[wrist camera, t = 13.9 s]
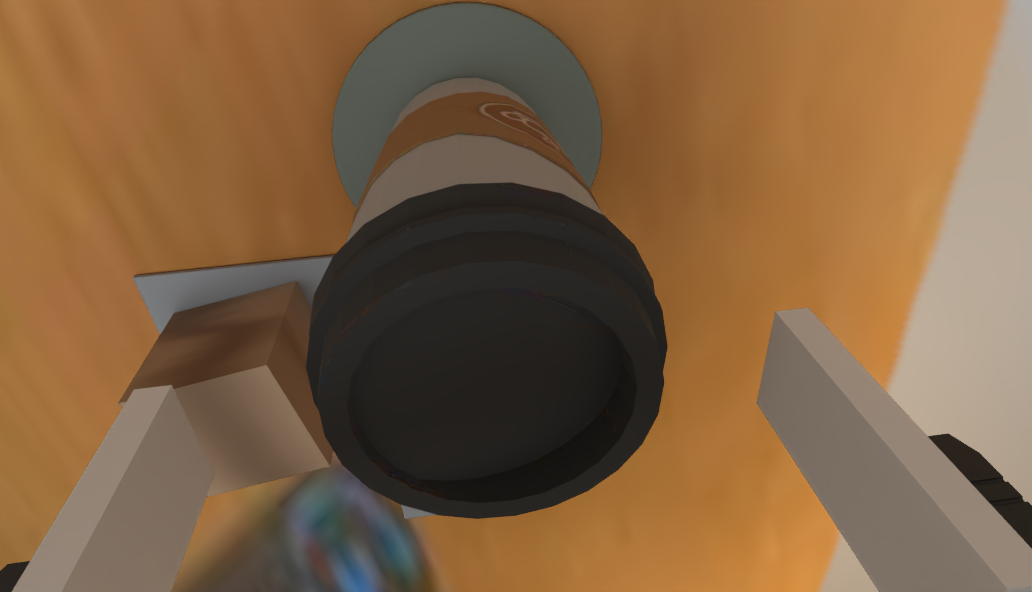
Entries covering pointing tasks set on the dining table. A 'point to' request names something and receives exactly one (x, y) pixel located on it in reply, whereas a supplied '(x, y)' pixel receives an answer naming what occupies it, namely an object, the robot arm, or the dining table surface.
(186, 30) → the dining table surface
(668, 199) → the dining table surface
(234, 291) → the code tile
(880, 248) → the dining table surface
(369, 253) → the coffee cup
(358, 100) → the coaster
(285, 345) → the brown cube
